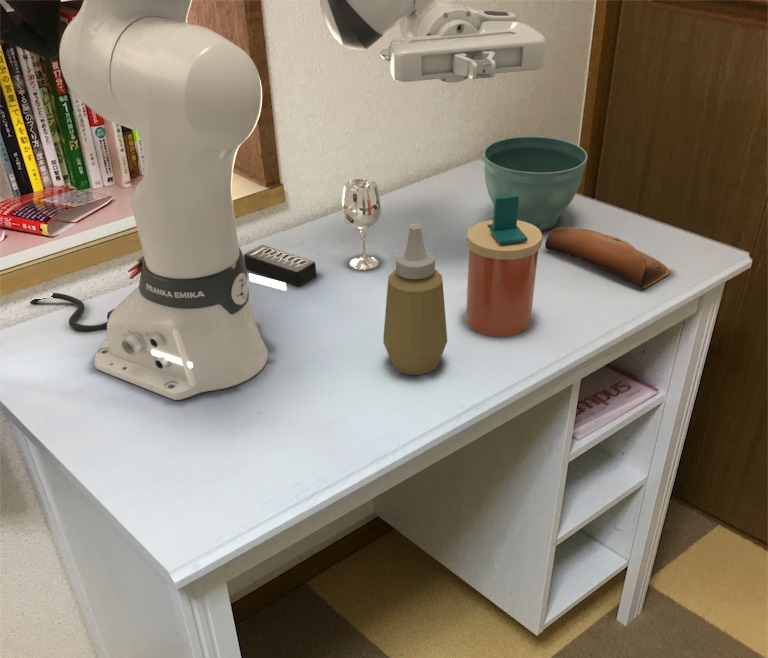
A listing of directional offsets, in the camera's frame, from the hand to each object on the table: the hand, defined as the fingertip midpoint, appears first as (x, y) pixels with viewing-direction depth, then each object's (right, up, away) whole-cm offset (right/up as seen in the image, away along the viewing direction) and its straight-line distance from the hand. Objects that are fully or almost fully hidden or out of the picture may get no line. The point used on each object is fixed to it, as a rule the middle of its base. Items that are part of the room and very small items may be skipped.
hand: (484, 71), depth 100 cm
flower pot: (+12, -6, +35) cm, 37 cm away
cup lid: (+3, -20, +4) cm, 20 cm away
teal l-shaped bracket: (+3, -20, +2) cm, 20 cm away
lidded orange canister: (+3, -28, +11) cm, 30 cm away
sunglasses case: (+21, -17, +23) cm, 36 cm away
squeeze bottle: (-8, -35, +4) cm, 37 cm away
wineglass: (-15, -16, +25) cm, 34 cm away
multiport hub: (-28, -18, +24) cm, 41 cm away
